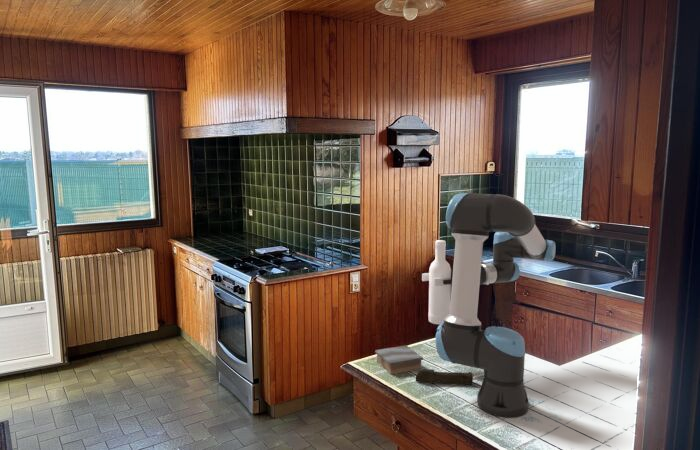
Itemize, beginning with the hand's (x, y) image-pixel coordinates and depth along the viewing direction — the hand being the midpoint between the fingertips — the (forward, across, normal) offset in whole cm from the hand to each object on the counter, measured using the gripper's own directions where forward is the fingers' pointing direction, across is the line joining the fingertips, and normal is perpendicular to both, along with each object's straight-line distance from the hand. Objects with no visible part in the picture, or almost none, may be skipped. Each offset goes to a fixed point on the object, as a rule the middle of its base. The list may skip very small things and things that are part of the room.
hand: (428, 279), depth 182 cm
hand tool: (+2, -16, -32) cm, 36 cm away
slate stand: (+10, +3, -32) cm, 34 cm away
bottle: (-5, 0, -16) cm, 17 cm away
